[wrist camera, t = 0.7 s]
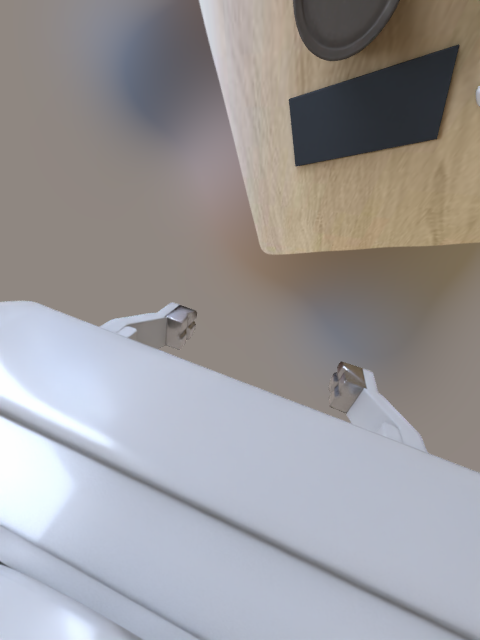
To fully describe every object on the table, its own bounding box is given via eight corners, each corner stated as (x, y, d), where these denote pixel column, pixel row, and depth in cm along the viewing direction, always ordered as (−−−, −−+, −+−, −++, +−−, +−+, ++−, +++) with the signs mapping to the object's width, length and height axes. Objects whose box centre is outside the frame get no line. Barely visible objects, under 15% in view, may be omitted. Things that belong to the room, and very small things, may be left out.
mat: (289, 98, 41) (288, 99, 40) (458, 44, 31) (459, 44, 31) (296, 165, 47) (295, 166, 47) (436, 138, 38) (436, 138, 37)
